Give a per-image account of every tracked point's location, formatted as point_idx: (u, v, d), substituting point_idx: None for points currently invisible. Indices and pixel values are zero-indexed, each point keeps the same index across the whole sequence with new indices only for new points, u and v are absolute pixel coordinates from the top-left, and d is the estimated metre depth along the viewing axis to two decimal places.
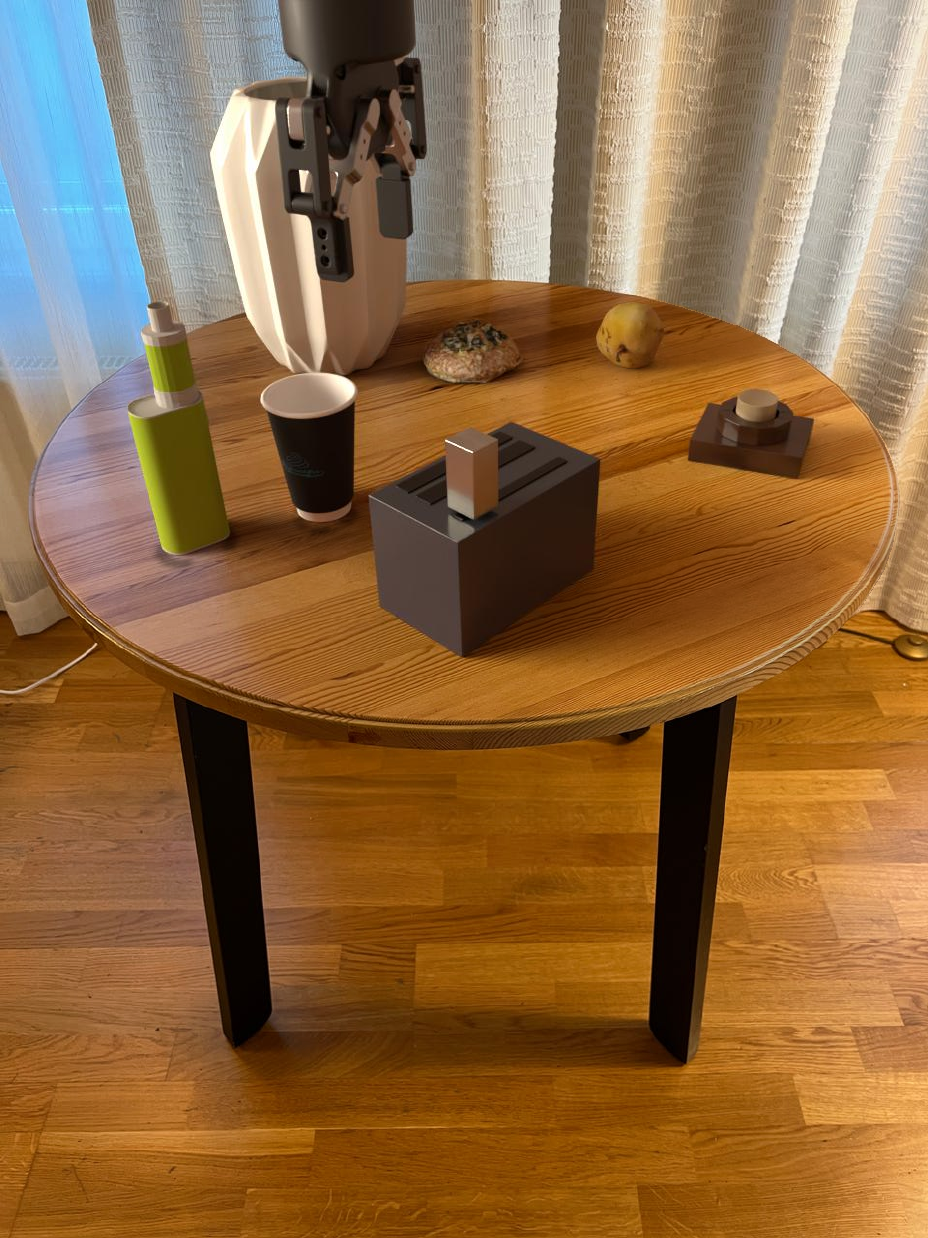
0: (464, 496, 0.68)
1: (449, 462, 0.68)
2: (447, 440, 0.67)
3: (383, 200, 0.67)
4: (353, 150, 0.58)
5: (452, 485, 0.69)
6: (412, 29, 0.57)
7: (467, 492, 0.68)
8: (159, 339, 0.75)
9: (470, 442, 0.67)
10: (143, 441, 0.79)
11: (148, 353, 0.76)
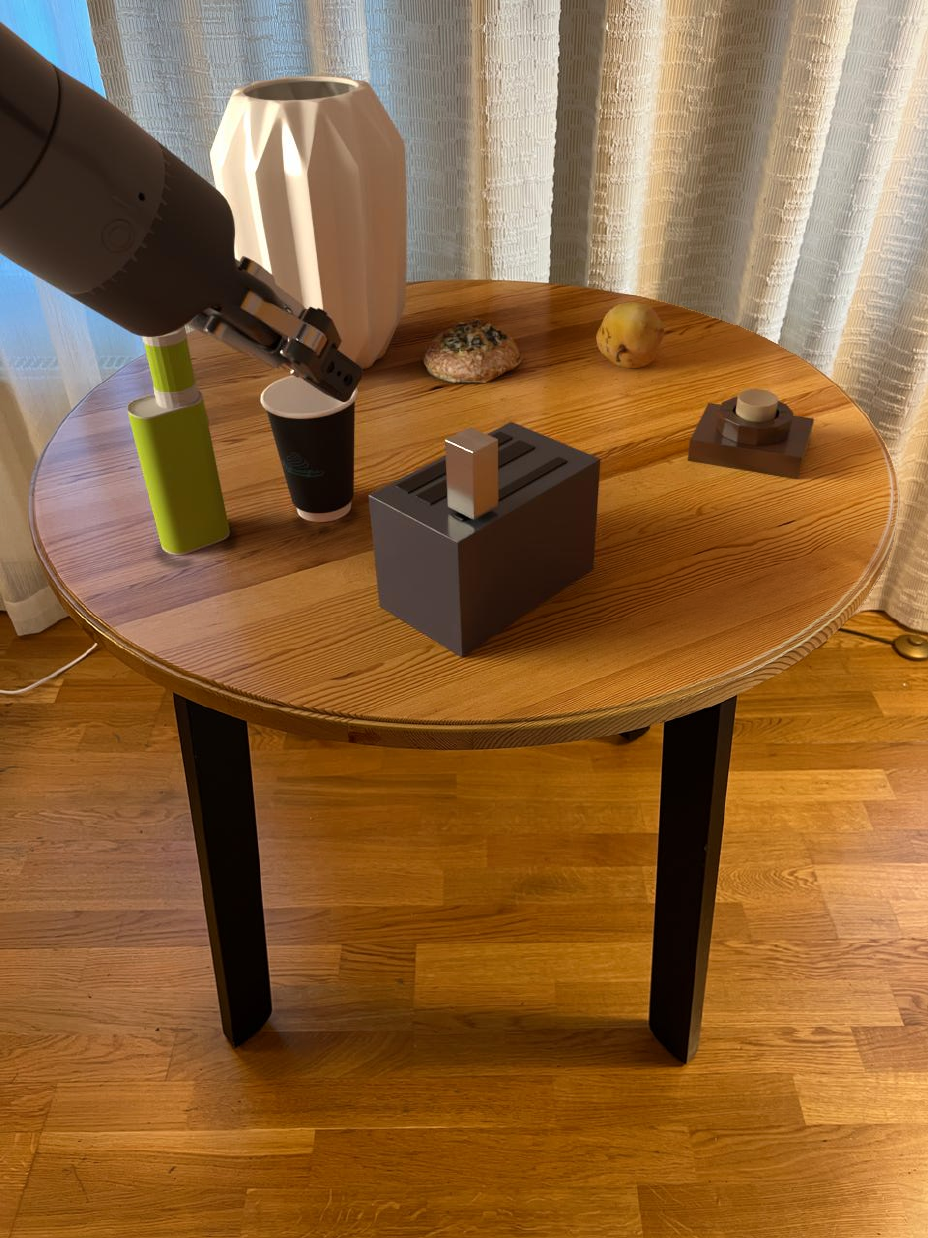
0: (464, 496, 0.68)
1: (449, 462, 0.68)
2: (447, 440, 0.67)
3: None
4: (290, 302, 0.50)
5: (452, 485, 0.69)
6: None
7: (467, 492, 0.68)
8: (159, 339, 0.75)
9: (470, 442, 0.67)
10: (143, 441, 0.79)
11: (148, 353, 0.76)
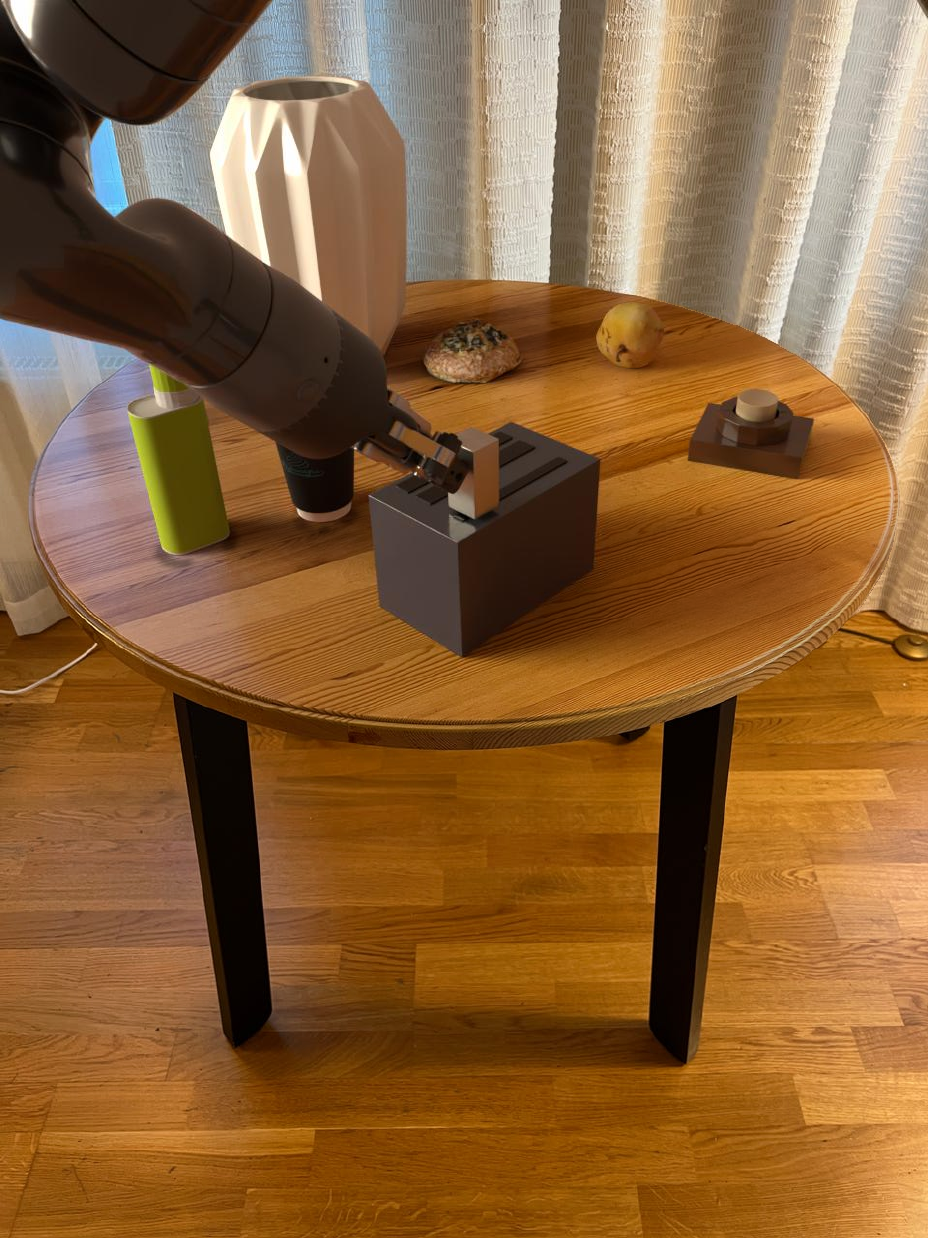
0: (465, 495, 0.68)
1: None
2: None
3: None
4: (420, 421, 0.60)
5: None
6: None
7: (468, 491, 0.68)
8: None
9: (471, 442, 0.67)
10: (143, 441, 0.79)
11: None
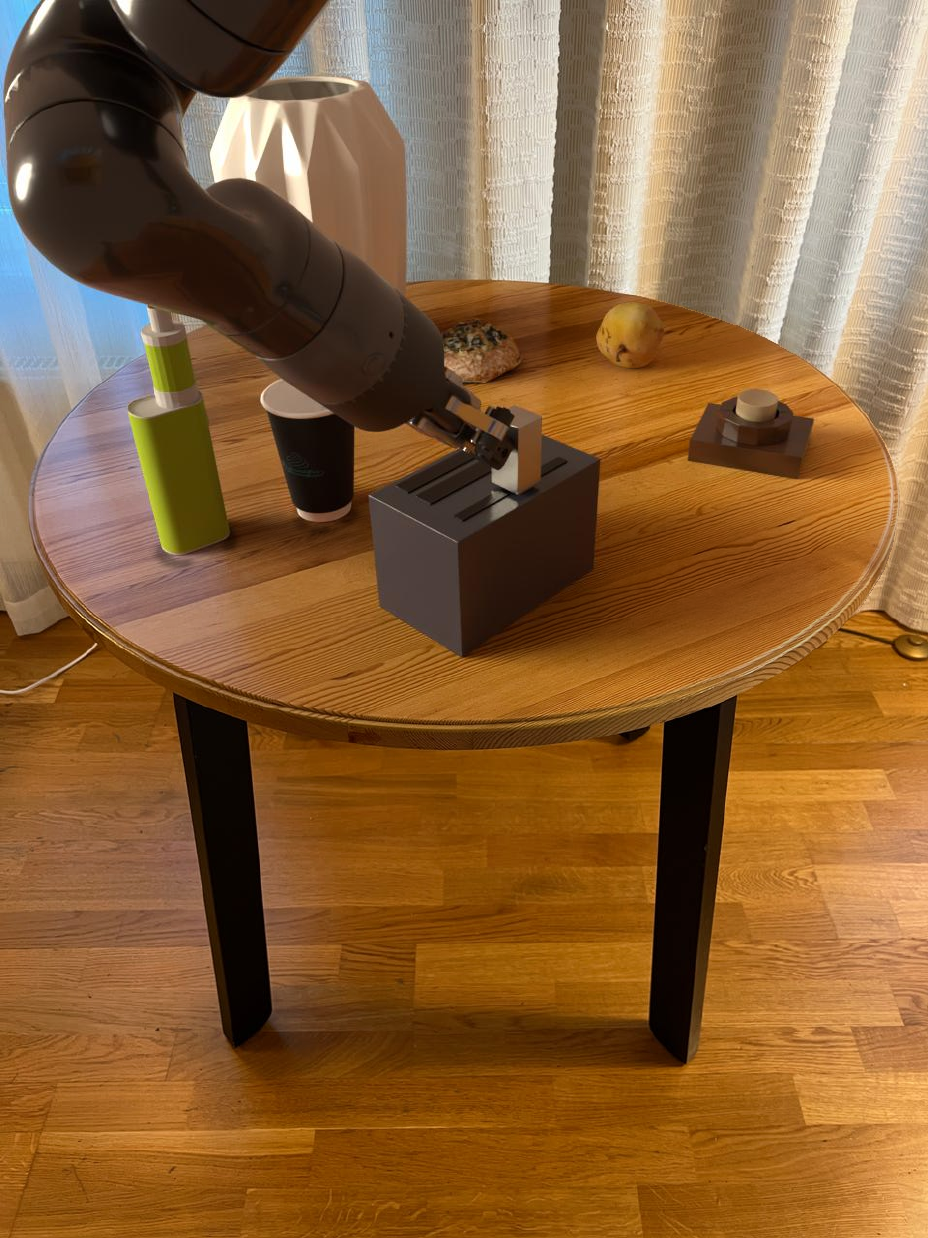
0: (509, 471, 0.71)
1: None
2: None
3: None
4: (471, 397, 0.63)
5: None
6: None
7: (511, 467, 0.70)
8: (159, 339, 0.75)
9: (515, 419, 0.69)
10: (143, 441, 0.79)
11: (148, 353, 0.76)
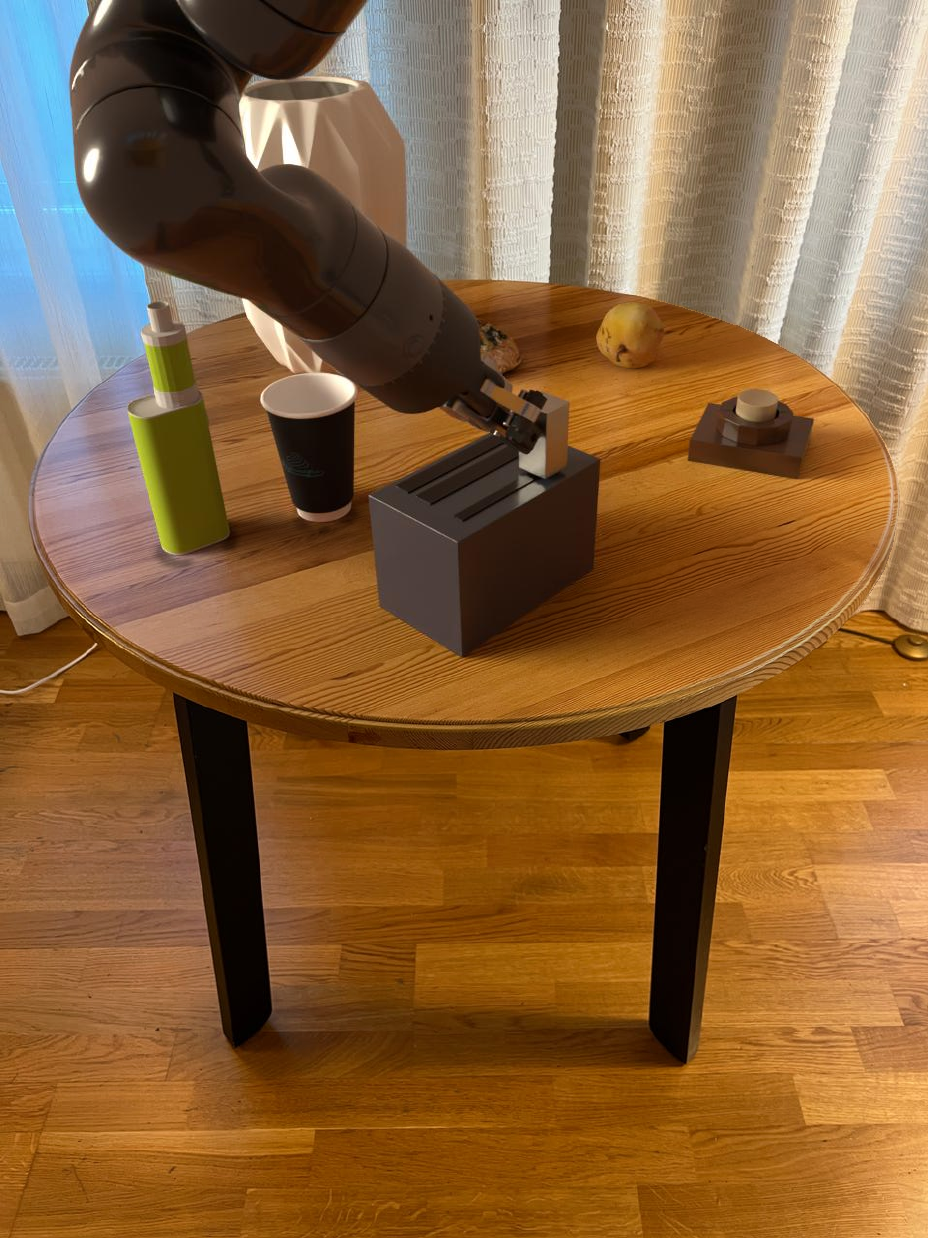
0: (536, 456, 0.72)
1: None
2: None
3: None
4: None
5: None
6: None
7: (539, 452, 0.72)
8: (159, 339, 0.75)
9: None
10: (143, 441, 0.79)
11: (148, 353, 0.76)
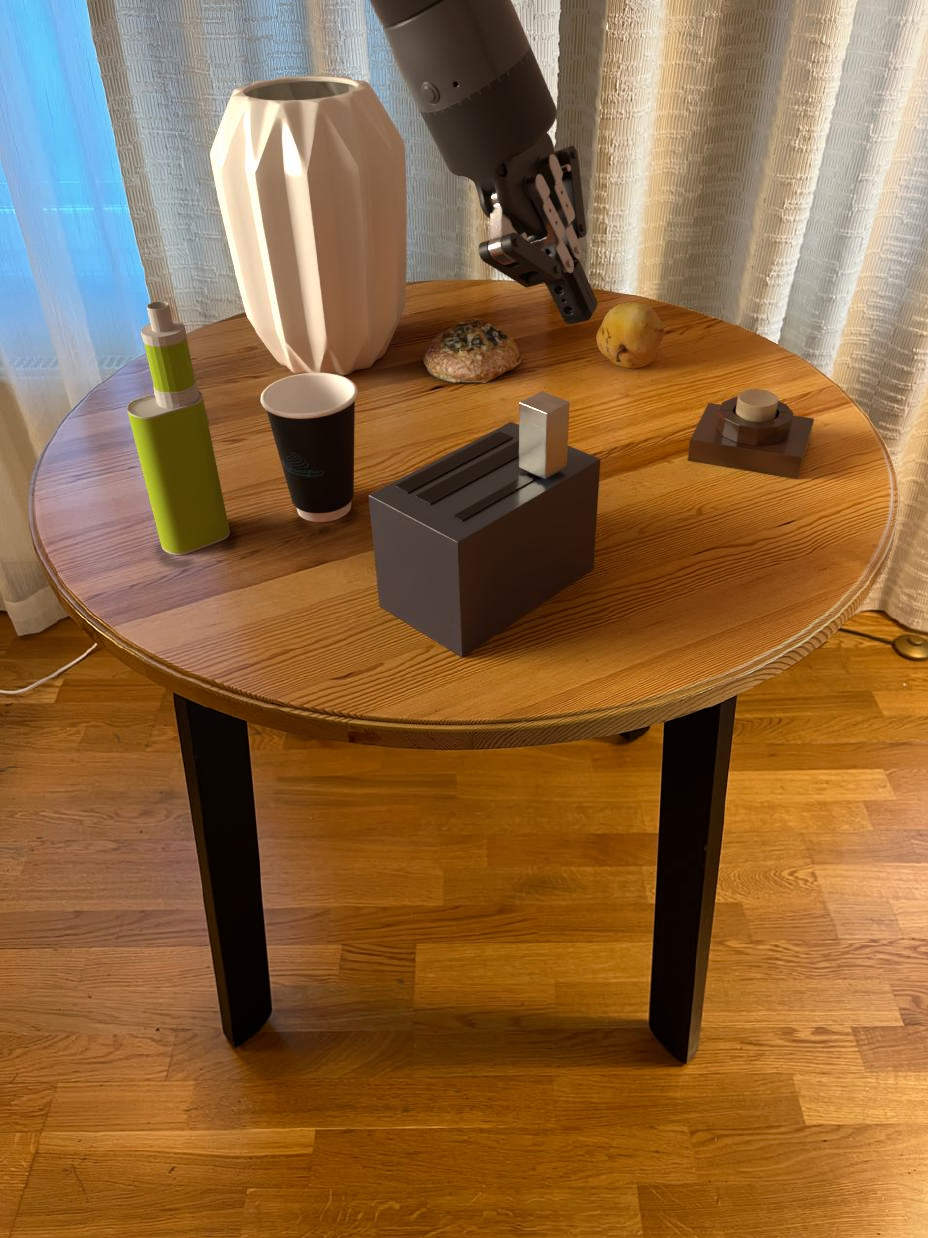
0: (536, 456, 0.72)
1: (522, 424, 0.72)
2: (522, 403, 0.71)
3: None
4: (549, 227, 0.65)
5: (524, 446, 0.73)
6: (550, 101, 0.61)
7: (539, 452, 0.72)
8: (159, 339, 0.75)
9: (543, 405, 0.70)
10: (143, 441, 0.79)
11: (148, 353, 0.76)
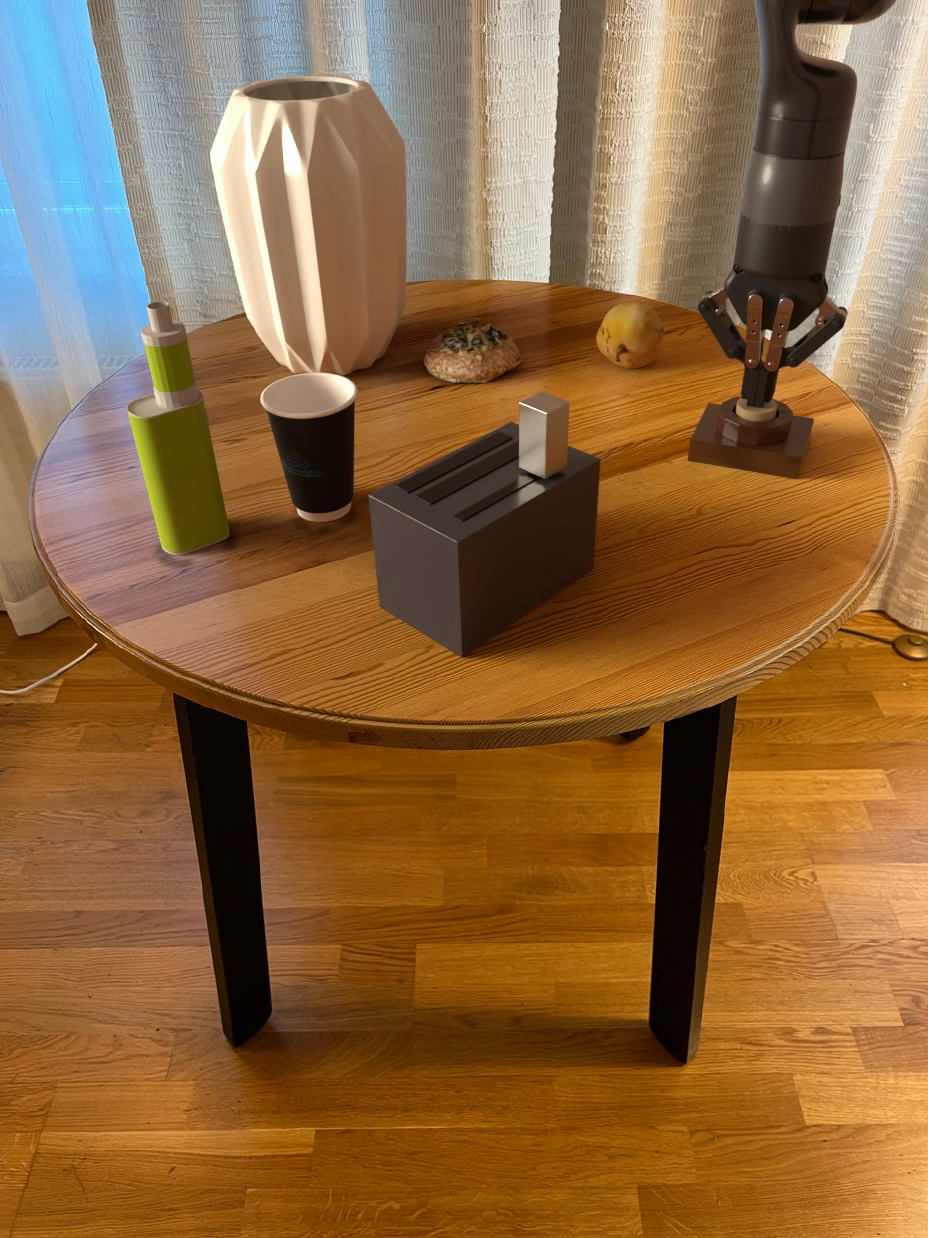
0: (536, 456, 0.72)
1: (522, 424, 0.72)
2: (522, 403, 0.71)
3: None
4: (746, 328, 0.88)
5: (524, 446, 0.73)
6: (781, 265, 0.82)
7: (539, 452, 0.72)
8: (159, 339, 0.75)
9: (543, 405, 0.70)
10: (143, 441, 0.79)
11: (148, 353, 0.76)
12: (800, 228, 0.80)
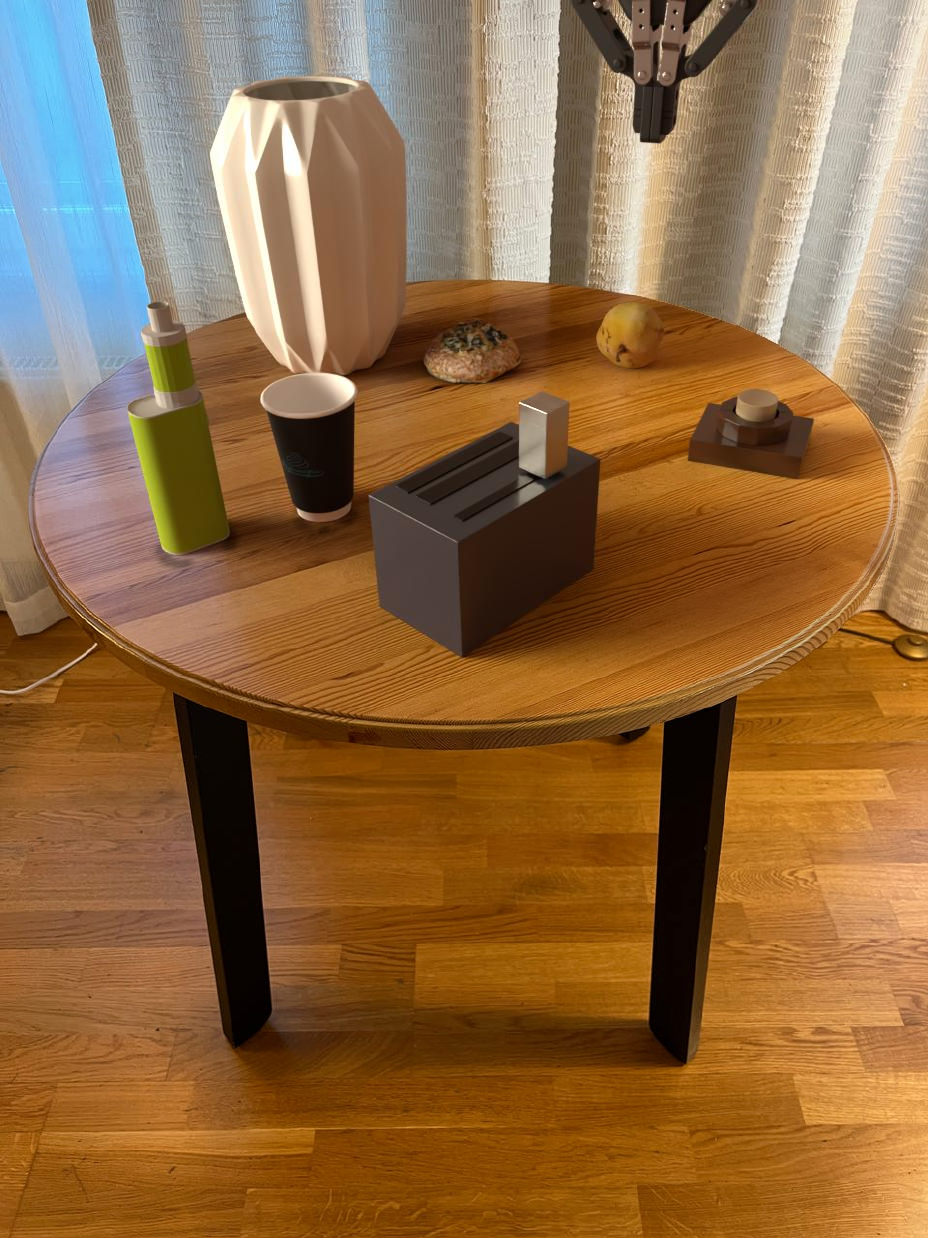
0: (536, 456, 0.72)
1: (522, 424, 0.72)
2: (522, 403, 0.71)
3: None
4: (633, 23, 0.68)
5: (524, 446, 0.73)
6: None
7: (539, 452, 0.72)
8: (159, 339, 0.75)
9: (543, 405, 0.70)
10: (143, 441, 0.79)
11: (148, 353, 0.76)
12: None
